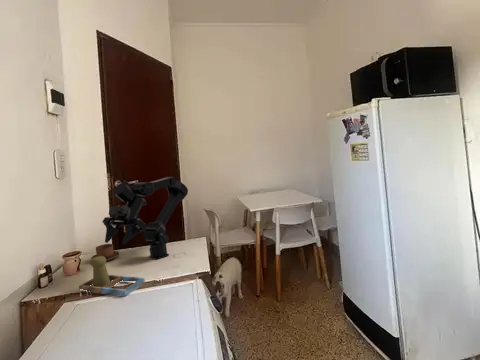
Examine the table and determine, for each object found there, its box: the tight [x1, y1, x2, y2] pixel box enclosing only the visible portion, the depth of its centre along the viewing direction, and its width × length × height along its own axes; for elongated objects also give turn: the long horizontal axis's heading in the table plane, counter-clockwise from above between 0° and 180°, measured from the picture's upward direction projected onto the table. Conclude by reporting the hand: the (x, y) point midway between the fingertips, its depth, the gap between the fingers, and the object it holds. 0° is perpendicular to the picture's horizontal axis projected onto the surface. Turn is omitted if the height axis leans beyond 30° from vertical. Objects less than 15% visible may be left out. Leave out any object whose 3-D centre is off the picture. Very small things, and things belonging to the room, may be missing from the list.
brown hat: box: [90, 243, 120, 262], centre depth 155 cm, size 12×12×6 cm
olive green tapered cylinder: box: [90, 256, 111, 287], centre depth 124 cm, size 6×6×11 cm
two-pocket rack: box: [78, 274, 146, 297], centre depth 122 cm, size 20×11×2 cm, turn 68°
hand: (114, 243), depth 130 cm, fingers open, 9 cm apart
